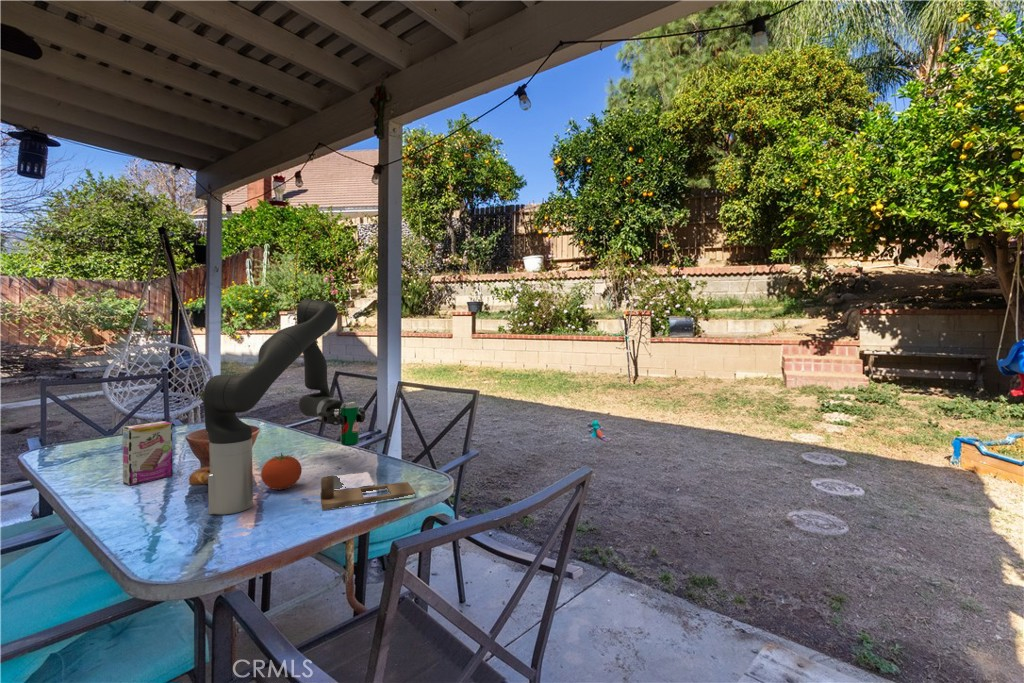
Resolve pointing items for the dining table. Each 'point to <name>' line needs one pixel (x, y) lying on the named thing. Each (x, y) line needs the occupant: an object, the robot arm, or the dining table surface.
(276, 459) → the tomato
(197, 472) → the pretzel
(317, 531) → the dining table surface
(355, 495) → the plane body
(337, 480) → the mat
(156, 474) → the candy bar box
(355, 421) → the soda can
